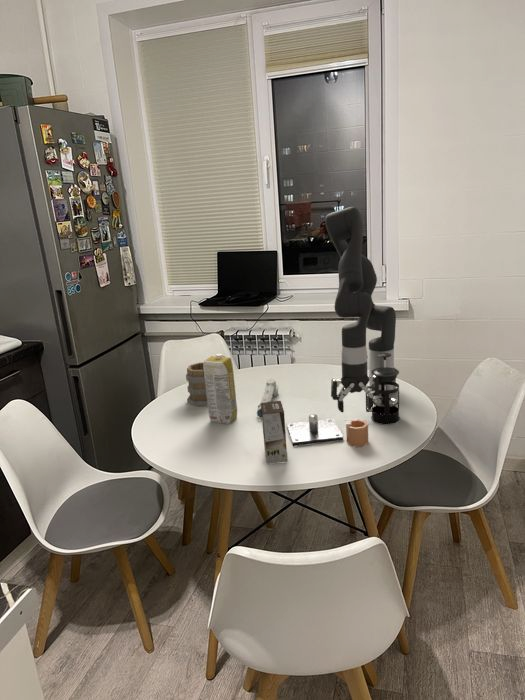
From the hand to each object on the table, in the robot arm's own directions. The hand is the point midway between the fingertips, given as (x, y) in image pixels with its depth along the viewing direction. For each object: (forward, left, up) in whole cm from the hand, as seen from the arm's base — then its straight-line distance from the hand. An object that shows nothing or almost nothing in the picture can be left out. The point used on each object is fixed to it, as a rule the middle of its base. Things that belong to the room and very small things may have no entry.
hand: (355, 409), depth 159 cm
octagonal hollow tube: (0, 0, -11) cm, 11 cm away
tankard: (+45, -51, -11) cm, 69 cm away
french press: (-13, -14, -11) cm, 22 cm away
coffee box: (+26, +3, -11) cm, 28 cm away
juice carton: (+41, -28, -11) cm, 51 cm away
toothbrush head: (+24, -38, -11) cm, 46 cm away
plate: (+12, -9, -11) cm, 18 cm away
